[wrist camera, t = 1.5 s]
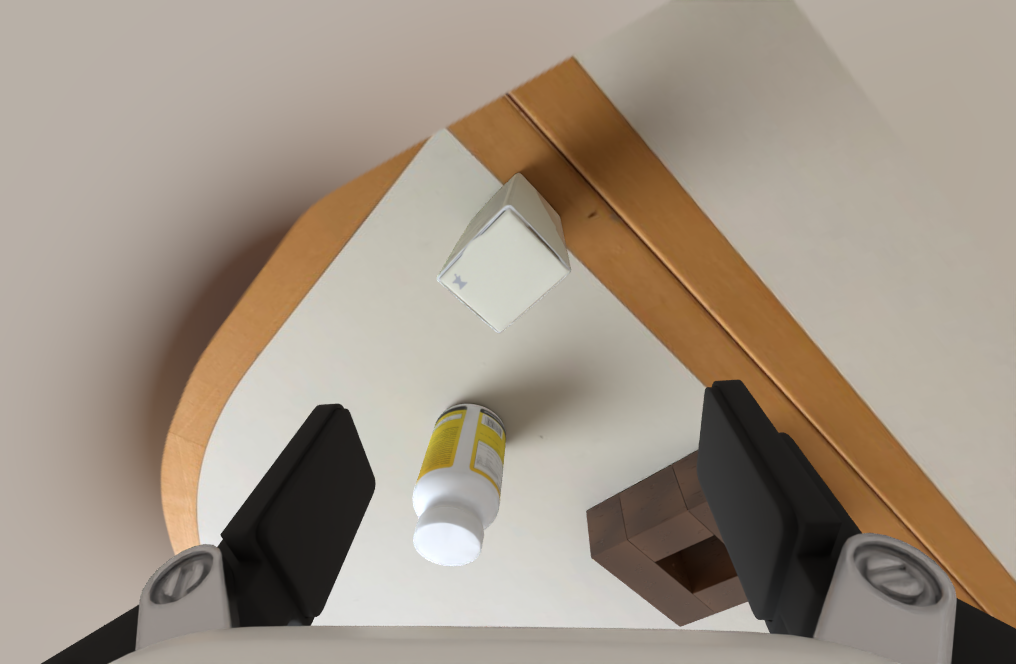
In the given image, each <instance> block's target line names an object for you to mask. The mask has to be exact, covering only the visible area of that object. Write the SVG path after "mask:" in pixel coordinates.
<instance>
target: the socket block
mask: <svg viewBox="0 0 1016 664" xmlns="http://www.w3.org/2000/svg"><path fill="white" fill-rule="evenodd" d="M697 458H698V451H696V452H694V453H692V454H690V455H688V456H687V457H685V458H683V459H681V460H679V461H677V462H676V463H674V464H672V465H670V466H668V467H667V468H665V469H663V470H661V471H659V472H657V473H656V474H654V475H652V476H650V477H648V478H646V479H645V480H643V481H641V482H639V483H637V484H635V485H634V486H632V487H630V488H628V489H626V490H624V491H623V492H621V493H619V494H617V495H615V496H613V497H611V498H609V499H607V500H606V501H604V502H602V503H600V504H598V505H596V506H595V507H593V508H591V509H589V510H587V511H586V513H587V523H588V532H589V542H590V552H591V558H592V559H594V560H595V561H596V562H597V563H599V564H600V565H601V566H603V567H604V568H605V569H606V570H608V571H609V572H610V573H612V574H613V575H614V576H615V577H617V578H618V579H619V580H621V581H622V582H623V583H624V584H626V585H627V586H628V587H630V588H631V589H632V590H633V591H635V592H636V593H637V594H639V595H640V596H641V597H642V598H644V599H645V600H646V601H648V602H649V603H650V604H651V605H653V606H654V607H655V608H657V609H658V610H659V611H660V612H662V613H663V614H664V615H666V616H667V617H668V618H669V619H671V620H672V621H673V622H675V623H676V624H677V625H678V626H680V627H681V626H684V625H686V624H689V623H692V622H694V621H697V620H700V619H702V618H705V617H708V616H710V615H713V614H716V613H718V612H721V611H724V610H726V609H729V608H732V607H734V606H737V605H740V604H743V603H745V602H748V600H747V597H746V595H745V592H744V590H743V587H742V585H741V583H740V580H739V578H738V575H737V573H736V570H735V568H734V566H733V563H732V561H731V558H730V556H729V553H728V551H727V548H726V546H725V544H724V541H723V539H722V536H721V534H720V531H719V529H718V527H717V524H716V522H715V519H714V517H713V514H712V512H711V509H710V507H709V505H708V502H707V500H706V497H705V495H704V492H703V490H702V488H701V485H700V483H699V480H698V476H697Z"/></svg>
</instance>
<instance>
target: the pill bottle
mask: <svg viewBox="0 0 1016 664" xmlns="http://www.w3.org/2000/svg"><path fill="white" fill-rule="evenodd" d="M505 443H506V431H505V427H504V425H503V423H502V421H501V419H500V418H499V417H498V416H497V415H496V414H495V413H494V412H492V411H491V410H489V409H487V408H485V407H483V406H480V405H475V404H460V405H456V406H453V407H451V408H449V409H447V410H446V411H444V412H443V413H442V414H441V415H440V417H439V418H438V420H437V422H436V424H435V427H434V430H433V433H432V436H431V439H430V442H429V445H428V449H427V452H426V455H425V458H424V461H423V464H422V467H421V470H420V473H419V476H418V479H417V482H416V485H415V489H414V493H413V505H414V509H415V511H416V513H417V515H418V517H419V519H418V522H417V525H416V529H415V533H414V537H413V543H414V546H415V548H416V550H417V551H418V553H419V554H420V555H422V556H423V557H424V558H426V559H427V560H429V561H431V562H433V563H436V564H440V565H445V566H461V565H465V564H468V563H470V562H472V561H474V560H475V559H476V558H477V557H478V556H479V555H480V553H481V549H482V543H483V538H484V530H485V529H486V528H487V527H489V526H490V525H491V524H492V522H493V521H494V519H495V518H496V516H497V513H498V510H499V504H500V494H501V484H502V474H503V464H504V453H505Z"/></svg>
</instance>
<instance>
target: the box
mask: <svg viewBox="0 0 1016 664" xmlns="http://www.w3.org/2000/svg"><path fill="white" fill-rule="evenodd" d="M570 272H571V267H570V262H569V258H568V253H567V248H566V243H565V238H564V234H563V229H562V224H561V219H560V216H559V215H558V214H557V213H556V211H555V210H554V209H553V208H552V207H551V206H550V204H549V203H548V202H547V201H546V200H545V199H544V198H543V197H542V196H541V194H540V193H539V192H538V191H537V190H536V189H535V188H534V187H533V186H532V185H531V184H530V183H529V182H528V181H527V180H526V179H525V178H524V177H523V176H522V174H520V173H516V174H515V175H514V176H513V177H512V178H511V179H510V180H509V181H508V182H507V183H506V184H505V185H504V186H503V187H502V188H501V189H500V190H499V191H498V192H497V193H496V194H495V195H494V196H493V197H492V198H491V200H490V201H489V202H488V203H487V204H486V205H485V206H484V207H483V208H482V209H481V210H480V211H479V213H478V214H477V215H476V216H475V217H474V218H473V219H472V220H471V222H470V223H469V225H468V226H467V228H466V230H465V231H464V233H463V234H462V236H461V238H460V239H459V241H458V242H457V244H456V246H455V247H454V249H453V251H452V252H451V254H450V256H449V257H448V259H447V261H446V262H445V264H444V266H443V267H442V269H441V271H440V273H439V274H438V276H437V280H438V281H439V282H440V283H441V284H442V285H443V286H444V287H445V288H447V289H448V290H449V291H450V292H451V293H452V294H453V295H454V296H455V297H456V298H457V299H459V300H460V301H461V302H462V303H463V304H464V305H465V306H467V307H468V308H469V309H470V310H471V311H472V312H473V313H475V314H476V315H477V316H478V317H479V318H480V319H482V320H483V321H484V322H485V323H486V324H488V325H489V326H490V327H491V328H492V329H494V330H495V331H496V332H498V333H501V332H502V331H504V330H505V329H506V328H507V327H509V326H510V325H511V324H512V323H513V322H515V321H516V320H517V319H518V318H520V317H521V316H522V315H523V314H524V313H525V312H527V311H528V310H529V309H530V308H531V307H532V306H534V305H535V304H536V303H537V302H538V301H539V300H540V299H541V298H543V297H544V296H545V295H546V294H547V293H548V292H549V291H550V290H551V289H553V288H554V287H555V286H556V285H557V284H558V283H559V282H560V281H561V280H562V279H563V278H564V277H566V276H567V275H568V274H569V273H570Z"/></svg>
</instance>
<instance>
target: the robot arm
mask: <svg viewBox="0 0 1016 664" xmlns="http://www.w3.org/2000/svg"><path fill="white" fill-rule="evenodd" d="M697 476H698V480H699V483H700V485H701V488H702V490H703V492H704V495H705V497H706V500H707V502H708V505H709V507H710V509H711V512H712V514H713V517H714V519H715V522H716V524H717V527H718V529H719V531H720V534H721V536H722V539H723V541H724V544H725V546H726V548H727V551H728V553H729V556H730V558H731V561H732V563H733V566H734V568H735V570H736V573H737V575H738V578H739V580H740V583H741V585H742V587H743V590H744V592H745V595H746V597H747V600H748V602H749V604H750V607H751V609H752V612H753V614H754V615H755V617H756V618H757V619H758V620H765V623H766V625H767V627H768V630H769V632H770V633H758V632H741V631H710V630H679V629H626V628H557V627H454V626H311V624H312V622H313V620H314V617H317V616H319V615H320V614H321V612H322V610H323V609H324V606H325V604H326V602H327V599H328V597H329V595H330V592H331V590H332V588H333V586H334V583H335V581H336V579H337V576H338V574H339V572H340V569H341V567H342V565H343V562H344V560H345V558H346V556H347V553H348V551H349V549H350V546H351V544H352V542H353V539H354V537H355V535H356V532H357V530H358V528H359V526H360V523H361V521H362V519H363V516H364V514H365V512H366V509H367V507H368V505H369V502H370V500H371V498H372V496H373V493H374V490H375V477H374V475H373V472H372V469H371V467H370V464H369V461H368V459H367V456H366V454H365V451H364V448H363V446H362V443H361V440H360V438H359V435H358V433H357V430H356V427H355V425H354V422H353V419H352V417H351V414H350V412H349V410H348V409H344V408H343V406H342V405H341V404H325V405H318V406H317V407H315V409H314V410H313V411H312V413H311V414H310V415H309V417H308V418H307V419H306V421H305V422H304V423H303V425H302V426H301V427H300V429H299V430H298V431H297V433H296V434H295V435H294V437H293V438H292V439H291V441H290V442H289V443H288V445H287V446H286V447H285V449H284V450H283V451H282V453H281V454H280V455H279V457H278V458H277V459H276V461H275V462H274V464H273V465H272V466H271V468H270V469H269V470H268V472H267V473H266V474H265V476H264V477H263V478H262V480H261V481H260V482H259V484H258V485H257V486H256V488H255V489H254V490H253V492H252V493H251V494H250V496H249V497H248V498H247V500H246V501H245V502H244V504H243V505H242V506H241V508H240V509H239V510H238V512H237V513H236V514H235V516H234V517H233V518H232V520H231V521H230V523H229V524H228V525H227V527H226V528H225V529H224V531H223V532H222V533H221V537H222V538H223V540H222V541H221V543H220V544H219V545H218V547H216V546H214V545H207V544H203V545H199V546H194V547H192V548H189V549H187V550H185V551H182V552H181V553H179V554H177V555H176V556H174V557H173V558H171V559H169V560H168V561H167V562H166V563H165V564H163V565H162V566H161V567H160V568H159V569H158V570H157V571H156V572H155V573H154V574H153V575H152V576H151V578H150V579H149V580H148V582H147V583H146V585H145V587H144V588H143V590H142V594H141V597H140V603H139V605H138V606H136V607H134V608H133V609H131V610H129V611H128V612H126V613H124V614H123V615H121V616H119V617H118V618H116V619H114V620H113V621H111V622H110V623H108V624H106V625H104V626H103V627H101V628H99V629H98V630H96V631H94V632H93V633H91V634H89V635H88V636H86V637H85V638H83V639H81V640H80V641H78V642H76V643H75V644H73V645H71V646H70V647H68V648H66V649H65V650H63V651H61V652H60V653H58V654H56V655H55V656H53V657H51V658H50V659H48V660H46V661H45V662H43V663H41V664H1016V629H1015V628H1013V627H1011V626H1010V625H1008V624H1006V623H1004V622H1002V621H1000V620H998V619H996V618H994V617H992V616H990V615H988V614H986V613H984V612H983V611H981V610H979V609H977V608H975V607H973V606H971V605H969V604H967V603H965V602H963V601H961V600H959V599H958V598H956V593H955V588H954V586H953V584H952V582H951V581H950V579H949V577H948V576H947V574H946V573H945V572H944V571H943V570H942V569H941V568H940V567H939V566H938V565H937V563H936V562H935V561H933V560H932V559H931V558H929V557H928V556H927V555H925V554H924V553H923V552H921V551H920V550H918V549H917V548H915V547H913V546H911V545H909V544H907V543H905V542H903V541H901V540H898V539H895V538H892V537H889V536H886V535H880V534H874V533H864V534H862V532H861V531H860V530H859V528H858V527H857V526H856V524H855V523H854V522H853V520H852V519H851V518H850V516H849V515H848V513H847V512H846V511H845V509H844V508H843V507H842V505H841V504H840V503H839V501H838V500H837V499H836V497H835V496H834V495H833V493H832V492H831V490H830V489H829V488H828V486H827V485H826V484H825V482H824V481H823V480H822V478H821V477H820V476H819V474H818V473H817V472H816V470H815V469H814V467H813V466H812V465H811V463H810V462H809V461H808V459H807V458H806V457H805V455H804V454H803V453H802V451H801V450H800V449H799V447H798V446H797V444H796V443H795V442H794V440H793V439H792V438H791V437H790V436H789V435H788V434H786V433H784V432H782V433H778V431H777V430H776V429H775V427H774V426H773V424H772V423H771V422H770V420H769V419H768V417H767V416H766V414H765V413H764V412H763V410H762V409H761V407H760V406H759V405H758V403H757V402H756V400H755V399H754V398H753V396H752V395H751V393H750V392H749V391H748V389H747V388H746V386H745V385H744V384H743V382H742V381H741V380H726V381H715V382H714V383H713V385H712V387H707V388H706V389H705V394H704V403H703V412H702V421H701V430H700V440H699V449H698V458H697Z"/></svg>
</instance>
